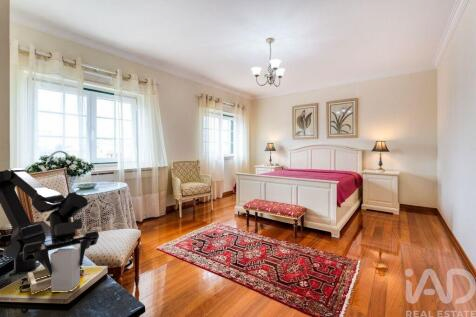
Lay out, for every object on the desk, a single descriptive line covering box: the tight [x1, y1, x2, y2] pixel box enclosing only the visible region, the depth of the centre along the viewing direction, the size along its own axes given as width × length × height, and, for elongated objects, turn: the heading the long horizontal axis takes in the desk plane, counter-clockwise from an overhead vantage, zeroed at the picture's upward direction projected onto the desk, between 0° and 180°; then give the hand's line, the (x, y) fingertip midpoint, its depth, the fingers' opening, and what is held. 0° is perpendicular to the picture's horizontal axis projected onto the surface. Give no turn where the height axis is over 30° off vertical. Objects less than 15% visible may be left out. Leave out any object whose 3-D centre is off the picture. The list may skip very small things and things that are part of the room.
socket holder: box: [27, 267, 51, 294], centre depth 72 cm, size 10×10×3 cm
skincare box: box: [49, 247, 81, 292], centre depth 68 cm, size 6×4×12 cm
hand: (66, 269), depth 67 cm, fingers closed on skincare box, 7 cm apart
